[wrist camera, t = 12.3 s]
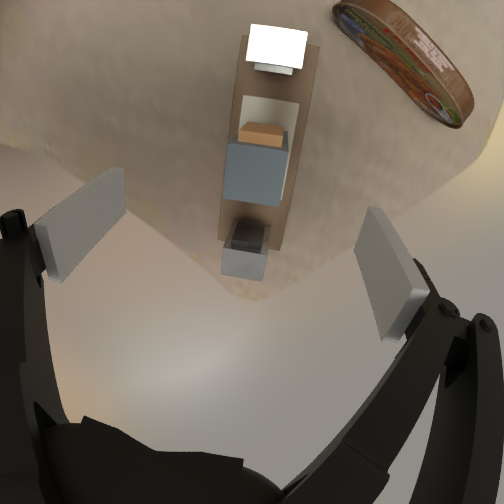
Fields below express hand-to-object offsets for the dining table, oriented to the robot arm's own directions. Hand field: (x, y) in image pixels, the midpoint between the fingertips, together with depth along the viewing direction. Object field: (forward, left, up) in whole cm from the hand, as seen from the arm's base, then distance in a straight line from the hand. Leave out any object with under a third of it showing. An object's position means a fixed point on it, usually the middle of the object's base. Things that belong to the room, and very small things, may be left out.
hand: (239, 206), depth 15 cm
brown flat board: (0, 0, -16) cm, 16 cm away
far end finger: (0, -10, -14) cm, 17 cm away
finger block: (0, 0, -14) cm, 14 cm away
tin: (+11, +12, -16) cm, 23 cm away
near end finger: (0, +9, -14) cm, 17 cm away
